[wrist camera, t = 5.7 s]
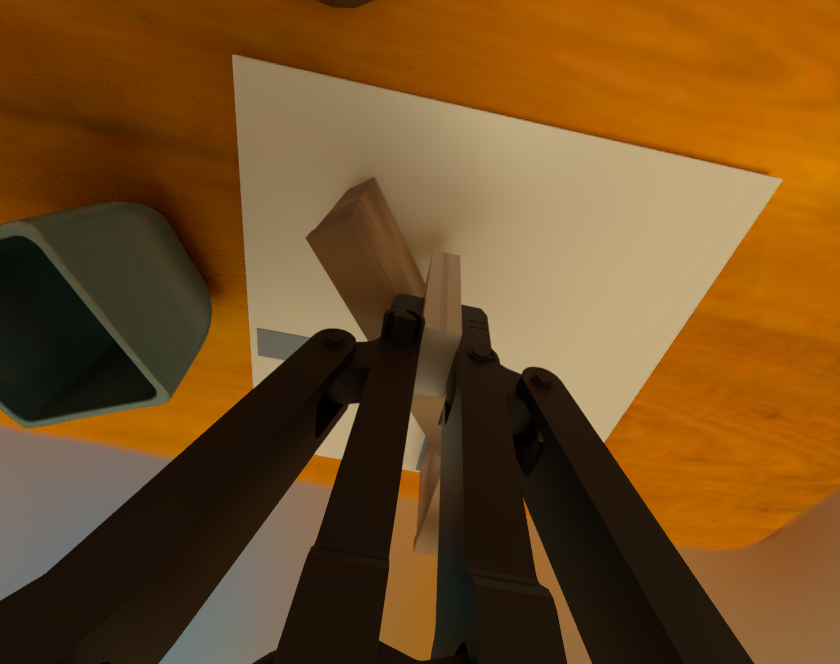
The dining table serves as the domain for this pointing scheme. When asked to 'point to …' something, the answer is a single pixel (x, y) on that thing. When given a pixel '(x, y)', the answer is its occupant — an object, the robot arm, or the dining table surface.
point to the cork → (345, 3)
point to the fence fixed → (428, 504)
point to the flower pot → (95, 313)
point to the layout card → (484, 229)
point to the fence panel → (372, 273)
